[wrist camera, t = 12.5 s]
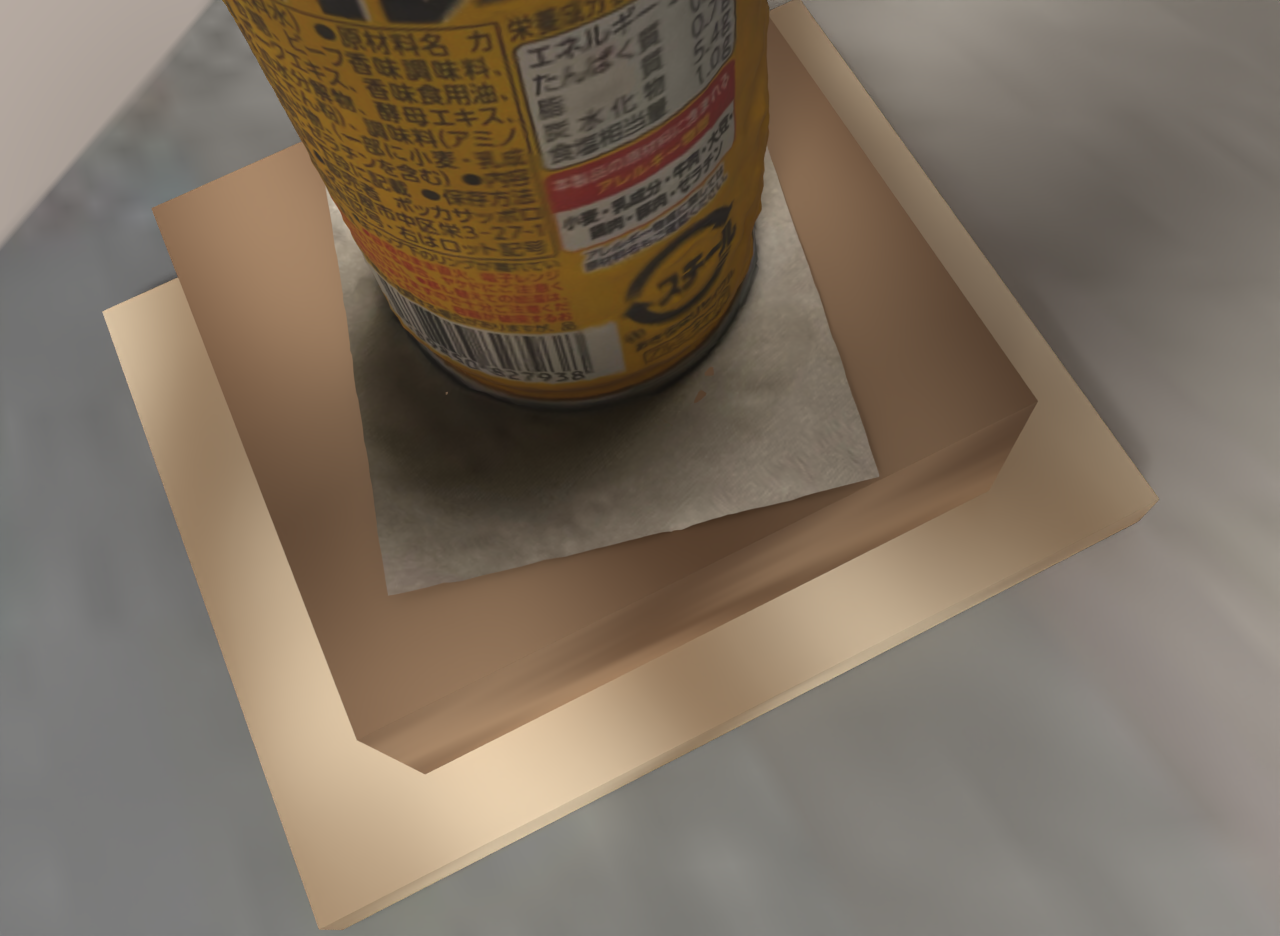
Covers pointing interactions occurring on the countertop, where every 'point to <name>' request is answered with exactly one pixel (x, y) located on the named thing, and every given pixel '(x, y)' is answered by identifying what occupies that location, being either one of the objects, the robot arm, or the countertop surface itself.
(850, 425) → the condiment
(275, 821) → the countertop surface
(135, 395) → the base board
